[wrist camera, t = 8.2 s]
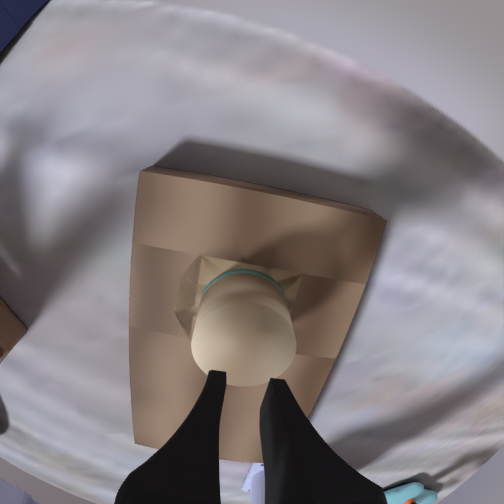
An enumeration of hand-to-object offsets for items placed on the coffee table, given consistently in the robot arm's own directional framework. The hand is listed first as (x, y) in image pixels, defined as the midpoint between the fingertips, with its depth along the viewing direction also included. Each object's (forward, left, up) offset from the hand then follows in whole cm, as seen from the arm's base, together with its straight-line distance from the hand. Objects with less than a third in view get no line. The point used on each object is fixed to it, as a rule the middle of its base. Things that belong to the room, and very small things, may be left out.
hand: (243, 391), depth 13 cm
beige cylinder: (0, 0, -9) cm, 9 cm away
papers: (+36, -15, -10) cm, 40 cm away
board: (0, +5, -9) cm, 11 cm away
